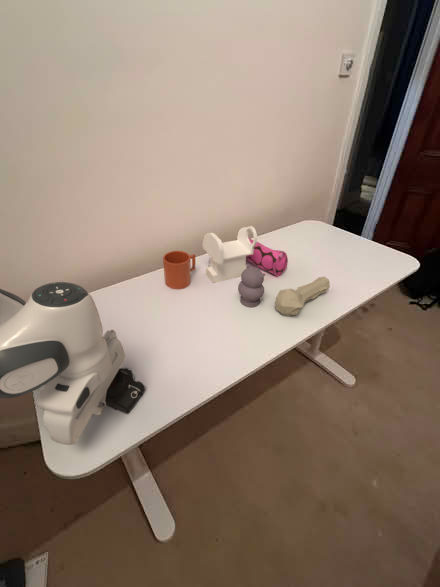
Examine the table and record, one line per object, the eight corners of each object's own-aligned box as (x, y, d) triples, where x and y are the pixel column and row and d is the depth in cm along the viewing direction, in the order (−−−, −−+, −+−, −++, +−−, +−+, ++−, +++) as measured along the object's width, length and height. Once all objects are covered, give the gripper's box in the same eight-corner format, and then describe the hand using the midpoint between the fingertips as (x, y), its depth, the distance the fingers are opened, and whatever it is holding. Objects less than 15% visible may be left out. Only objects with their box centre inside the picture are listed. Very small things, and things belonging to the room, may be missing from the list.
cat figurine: (231, 298, 97) (234, 266, 90) (249, 290, 101) (253, 258, 94) (249, 312, 91) (253, 280, 84) (267, 303, 95) (273, 271, 88)
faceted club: (265, 306, 93) (313, 281, 107) (284, 326, 89) (331, 298, 103) (276, 287, 86) (325, 263, 100) (297, 308, 83) (345, 280, 97)
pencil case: (229, 257, 117) (230, 234, 111) (245, 249, 123) (248, 227, 117) (273, 281, 105) (277, 256, 100) (289, 271, 111) (294, 247, 105)
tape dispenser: (237, 262, 115) (241, 217, 104) (254, 280, 105) (260, 233, 95) (202, 270, 109) (203, 223, 99) (217, 289, 100) (220, 240, 89)
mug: (175, 292, 98) (173, 267, 92) (159, 280, 103) (157, 256, 97) (203, 279, 105) (203, 255, 99) (187, 268, 110) (186, 245, 104)
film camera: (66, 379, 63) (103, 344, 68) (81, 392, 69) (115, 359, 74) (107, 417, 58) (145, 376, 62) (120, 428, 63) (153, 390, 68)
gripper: (98, 322, 62) (110, 366, 70) (27, 411, 46) (54, 455, 54) (127, 327, 61) (135, 371, 69) (65, 420, 45) (86, 463, 53)
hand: (99, 409), depth 61 cm, fingers closed
